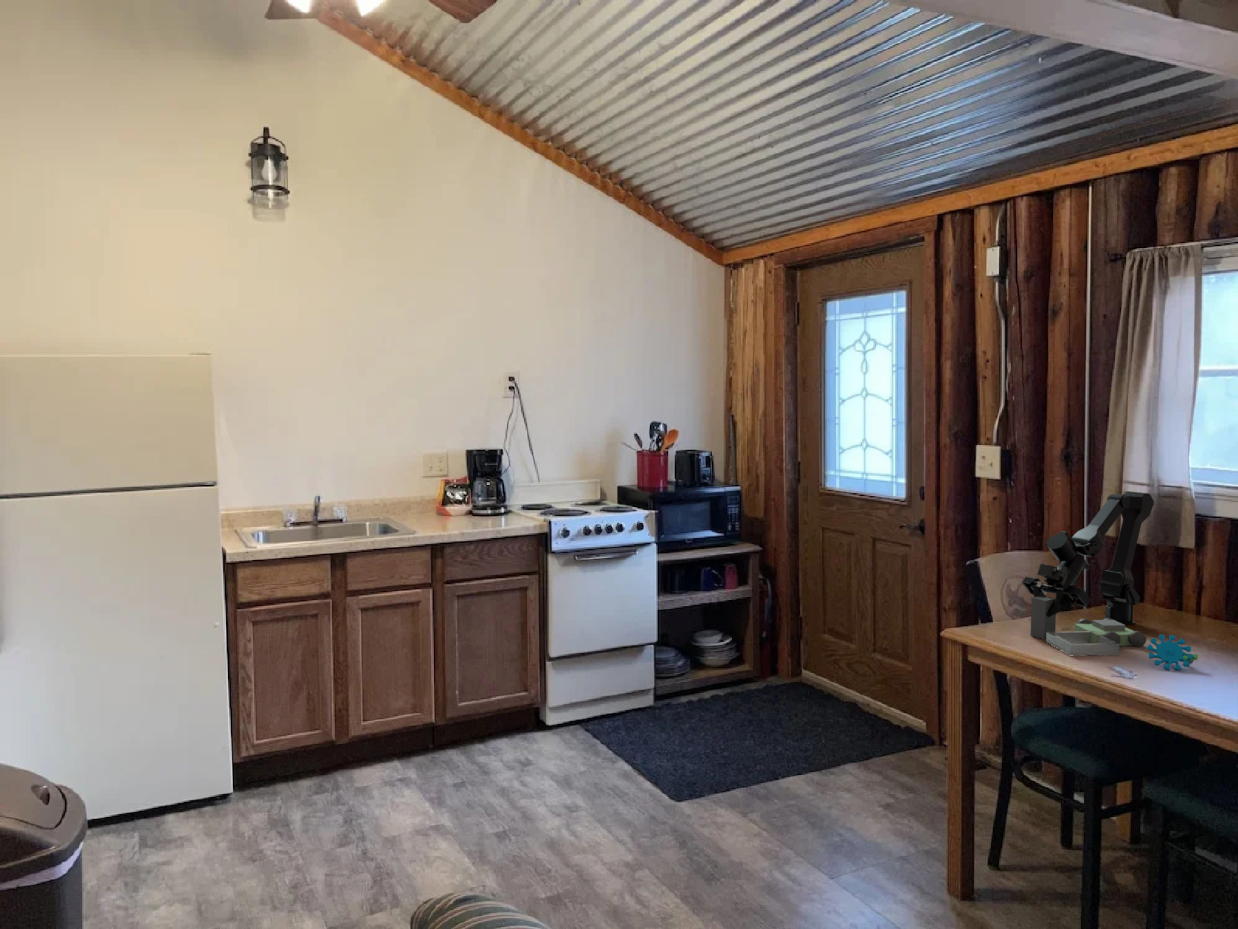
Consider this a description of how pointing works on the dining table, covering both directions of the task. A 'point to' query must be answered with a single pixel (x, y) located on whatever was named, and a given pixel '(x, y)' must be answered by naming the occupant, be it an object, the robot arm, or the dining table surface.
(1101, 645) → the grey tray
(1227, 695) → the dining table surface
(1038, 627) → the grey block
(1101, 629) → the toy car
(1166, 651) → the teal spiky round piece
